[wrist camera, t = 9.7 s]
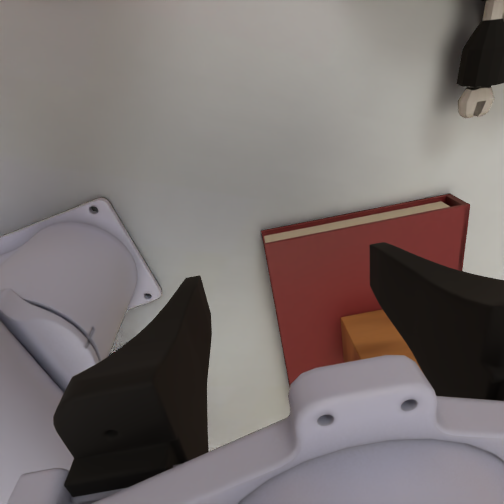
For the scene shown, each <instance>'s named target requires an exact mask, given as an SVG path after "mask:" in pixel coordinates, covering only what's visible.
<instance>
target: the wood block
mask: <svg viewBox="0 0 504 504" xmlns="http://www.w3.org/2000/svg"><path fill="white" fill-rule="evenodd" d="M341 331H342V345H343V358H344V362H350V361H356V360H362V359H367V358H373V357H378V356H384V355H405V356H406V357H408V358H410V359H411V360H413V361H415V362H416V363H417V361H416V359H415V357H414V355H413V353H412V352H411V350H410V348H409V347H408V345H407V344H406V342H405V341H404V339H403V338H402V336H401V335H400V334H399V332H398V331H397V329H396V328H395V326H394V325H393V324H392V322H391V321H390V319H389V318H388V317H387V315H386V314H385V312H384V311H383V309H381V310H376V311H371V312H365V313H360V314H355V315H350V316H345V317H341ZM417 365H418V366H419V364H418V363H417ZM419 368H420V366H419ZM420 369H421V368H420ZM421 371H422V370H421Z"/></svg>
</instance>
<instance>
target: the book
mask: <svg viewBox="0 0 504 504" xmlns="http://www.w3.org/2000/svg"><path fill="white" fill-rule="evenodd" d="M469 210H470V204H468V203H466V202H464V201H462V200H460V199H459V198H457V197H455V196H453V195H452V194H446V195H440V196H435V197H430V198H425V199H420V200H415V201H410V202H405V203H400V204H395V205H390V206H384V207H379V208H374V209H369V210H364V211H359V212H354V213H349V214H344V215H339V216H334V217H328V218H323V219H318V220H313V221H308V222H303V223H298V224H293V225H288V226H283V227H278V228H272V229H267V230H262V231H261V233H262V238H263V243H264V249H265V254H266V260H267V265H268V271H269V276H270V282H271V287H272V293H273V298H274V304H275V309H276V315H277V320H278V326H279V331H280V336H281V342H282V347H283V353H284V358H285V364H286V369H287V375H288V380H289V386H290V385H291V383H292V382H293V381H294V380H295V379H296V378H297V377H298V376H299V375H300V374H302V373H304V372H306V371H309V370H312V369H314V368H317V367H323V366H328V365H334V364H339V363H345V362H344V358H343V345H342V331H341V317H345V316H350V315H355V314H360V313H365V312H371V311H376V310H381V309H382V308H381V306H380V305H379V303H378V301H377V299H376V297H375V295H374V293H373V291H372V289H371V287H370V244H376V243H381V242H386V243H389V244H391V245H394V246H396V247H399V248H401V249H403V250H405V251H408V252H410V253H412V254H415V255H417V256H420V257H422V258H425V259H427V260H430V261H432V262H435V263H438V264H441V265H443V266H446V267H449V268H453V269H456V270H459V271H462V268H463V260H464V251H465V243H466V235H467V227H468V218H469Z"/></svg>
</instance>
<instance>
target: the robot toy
mask: <svg viewBox="0 0 504 504" xmlns="http://www.w3.org/2000/svg"><path fill="white" fill-rule="evenodd" d="M482 1H485V0H482ZM501 83H504V0H486V4H485V9H484V15H483V20H482V22H481V23H480V24H479V26H478V27H477V28H476V30H475V31H474V32H473V34H472V35H471V37H470V38H469V40H468V41H467V43H466V44H465V46H464V48H463V50H462V55H461V61H460V67H459V73H458V79H457V84H458V85H461V86H468V87H467V88H466V89H465V91H464V92H463V94H462V96H461V97H460V99H459V100H458V109H459V114H460V115H461V116H462V117H464V118H472V117H473V115H474V116H477V117H478V116H483V115H484V114H486V113H487V112H489V109H490V107H491V105H492V103H493V100H494V96H493V92H492V89H491V85H497V84H501Z"/></svg>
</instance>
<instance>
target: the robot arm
mask: <svg viewBox="0 0 504 504" xmlns="http://www.w3.org/2000/svg"><path fill="white" fill-rule="evenodd" d="M91 206H95V207H96V208H97V209H98V212H95V211H93V210H92V209H91ZM370 287H371V289H372V291H373V293H374V295H375V297H376V299H377V301H378V303H379V305H380V306H381V308H382V309H383V311H384V312H385V314H386V315H387V317H388V318H389V319H390V321H391V322H392V324H393V325H394V326H395V328H396V329H397V331H398V332H399V334H400V335H401V336H402V338H403V339H404V341H405V342H406V344H407V345H408V347H409V348H410V350H411V352H412V353H413V355H414V357H415V359H416V361H417V363H418V364H419V366H420V368H421V369H420V368H419V366H418V365H417V363H416V362H415V361H413V360H411V359H410V358H408V357H406V356H405V355H384V356H378V357H373V358H367V359H362V360H356V361H350V362H345V363H339V364H334V365H328V366H323V367H317V368H314V369H312V370H309V371H306V372H304V373H302V374H300V375H299V376H298V377H297V378H296V379H295V380H294V381H293V382H292V383H291V385H290V390H289V395H288V398H289V404H290V415H289V416H288V417H287V418H285V419H283V420H280V421H278V422H276V423H273V424H271V425H269V426H267V427H264V428H262V429H260V430H258V431H255V432H253V433H251V434H248V435H246V436H244V437H242V438H239V439H237V440H235V441H233V442H230V443H228V444H226V445H223V446H221V447H219V448H217V449H214V450H212V451H210V452H208V427H207V377H208V367H209V357H210V347H211V335H212V331H211V313H210V309H209V306H208V302H207V299H206V295H205V291H204V288H203V284H202V280H201V277H200V276H195V277H189V278H186V279H185V280H184V281H183V283H182V284H181V285H180V287H179V288H178V290H177V291H176V292H175V294H174V295H173V296H172V298H171V299H170V300H169V302H168V303H167V304H166V305H165V307H164V308H163V309H162V310H161V311H160V312H159V314H158V315H157V316H156V317H155V318H154V319H153V320H152V321H151V322H150V323H149V324H148V325H147V326H146V327H145V328H144V329H143V330H142V331H141V332H140V333H139V334H138V335H137V336H135V337H134V338H133V339H131V340H130V341H129V342H128V343H126V344H125V345H124V346H123V347H121V348H120V349H119V350H117V351H116V352H114V353H113V354H111V355H110V356H109V354H110V351H111V349H112V346H113V344H114V341H115V339H116V336H117V333H118V331H119V328H120V326H121V323H122V321H123V318H124V316H125V313H126V310H129V309H131V308H134V307H137V306H140V305H143V304H145V303H148V302H151V301H154V300H156V299H159V298H160V297H161V294H162V290H161V288H160V286H159V284H158V283H157V281H156V279H155V278H154V276H153V274H152V273H151V271H150V269H149V268H148V266H147V264H146V263H145V261H144V259H143V258H142V256H141V254H140V253H139V251H138V249H137V247H136V246H135V244H134V242H133V241H132V239H131V237H130V236H129V234H128V232H127V231H126V229H125V227H124V226H123V224H122V222H121V221H120V219H119V217H118V216H117V214H116V212H115V211H114V209H113V207H112V206H111V204H110V202H109V201H108V200H107V199H105V198H97V199H95V200H92V201H90V202H87V203H85V204H82V205H80V206H77V207H74V208H72V209H69V210H67V211H64V212H62V213H59V214H57V215H54V216H52V217H49V218H47V219H44V220H42V221H39V222H37V223H34V224H31V225H29V226H26V227H24V228H21V229H19V230H16V231H14V232H11V233H9V234H6V235H4V236H1V237H0V504H504V280H499V279H494V278H488V277H483V276H479V275H474V274H470V273H467V272H463V271H459V270H456V269H453V268H449V267H446V266H443V265H441V264H438V263H435V262H432V261H430V260H427V259H425V258H422V257H420V256H417V255H415V254H412V253H410V252H408V251H405V250H403V249H401V248H399V247H396V246H394V245H391V244H389V243H386V242H381V243H376V244H370ZM146 293H148V294H150V295H151V296H146V295H145V294H146ZM421 370H422V371H421Z"/></svg>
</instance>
